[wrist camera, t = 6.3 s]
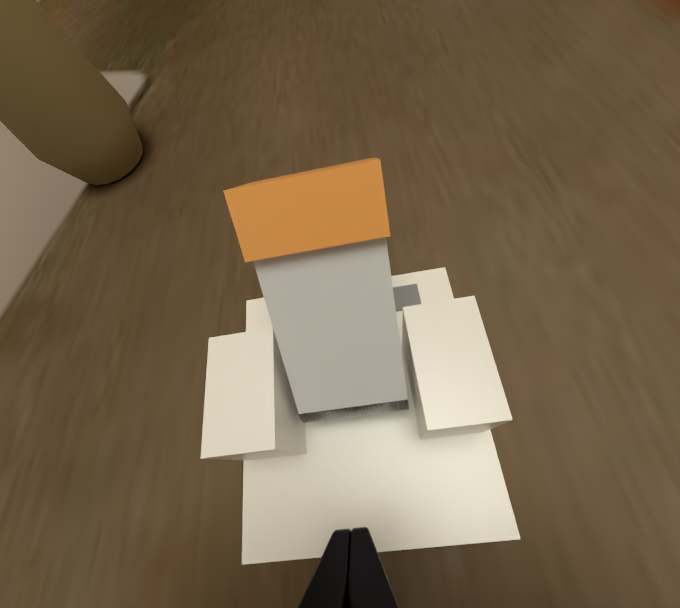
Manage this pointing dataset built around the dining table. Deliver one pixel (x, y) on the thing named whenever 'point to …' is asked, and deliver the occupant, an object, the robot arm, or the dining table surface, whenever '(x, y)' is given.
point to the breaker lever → (327, 285)
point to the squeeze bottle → (61, 99)
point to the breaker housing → (366, 438)
